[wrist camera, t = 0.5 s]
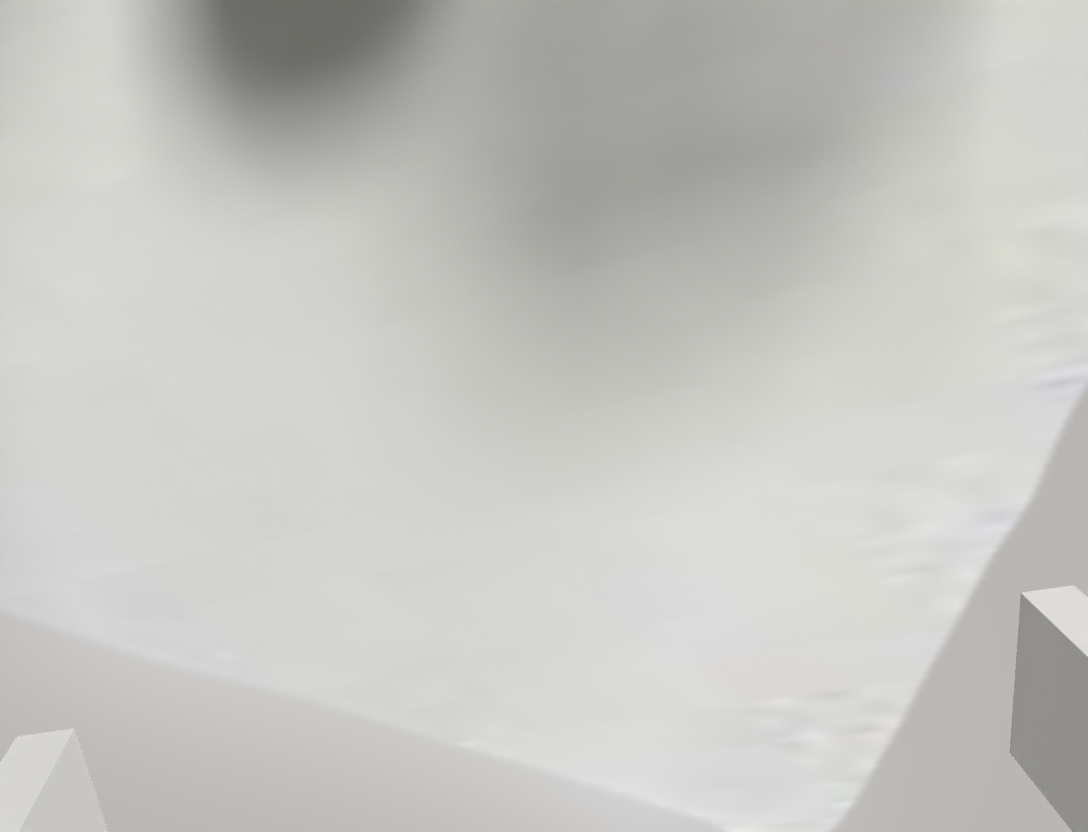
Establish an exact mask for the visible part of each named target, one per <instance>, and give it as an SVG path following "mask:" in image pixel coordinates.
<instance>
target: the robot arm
mask: <svg viewBox="0 0 1088 832" xmlns="http://www.w3.org/2000/svg"><path fill="white" fill-rule="evenodd" d="M1010 744H1011V745H1010V753H1011V754H1012V756H1013V757H1014V758H1015V760H1016V761H1017V762H1018V763H1019V765H1020V766H1021V767H1022V768H1023V770H1024V771H1025V772H1026V773H1027V775H1028V776H1029V777H1030V778H1031V780H1032V781H1033V782H1034V784H1035V785H1036V786H1037V787H1038V789H1039V790H1040V791H1041V792H1042V793H1043V795H1044V796H1045V797H1046V799H1047V800H1048V801H1049V802H1050V804H1051V805H1052V806H1053V807H1054V809H1055V810H1056V811H1057V813H1058V814H1059V815H1060V816H1061V818H1062V819H1063V820H1064V821H1065V823H1066V824H1067V825H1068V826H1069V828H1070V829H1071V830H1072V831H1073V832H1088V597H1087V596H1085V595H1084V594H1083V593H1082V592H1081V591H1080V590H1078V589H1077V588H1076V587H1075V586H1074V585H1072V586H1065V587H1059V588H1052V589H1044V590H1037V591H1030V592H1023V593H1021V599H1020V613H1019V627H1018V643H1017V656H1016V671H1015V685H1014V699H1013V713H1012V728H1011V742H1010ZM0 832H108V829H107V826H106V823H105V820H104V817H103V814H102V811H101V807H100V804H99V801H98V799H97V795H96V792H95V790H94V786H93V783H92V780H91V777H90V774H89V771H88V768H87V765H86V762H85V759H84V756H83V753H82V750H81V746H80V744H79V740H78V737H77V734H76V731H75V729H66V730H60V731H53V732H46V733H39V734H32V735H25V736H18V737H16V739H15V740H14V742H13V743H12V745H11V747H10V748H9V750H8V752H7V753H6V755H5V757H4V758H3V760H2V762H1V763H0Z"/></svg>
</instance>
